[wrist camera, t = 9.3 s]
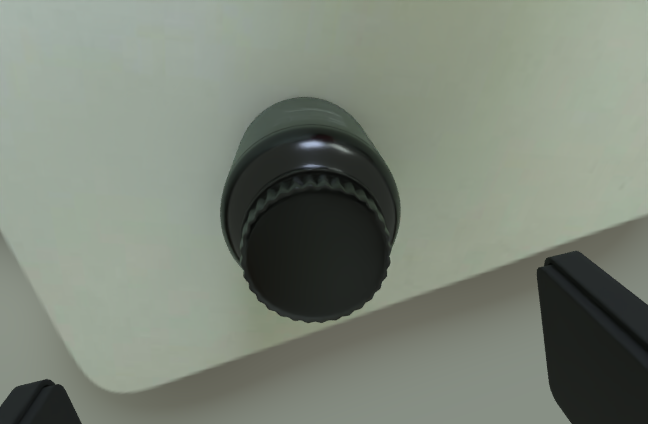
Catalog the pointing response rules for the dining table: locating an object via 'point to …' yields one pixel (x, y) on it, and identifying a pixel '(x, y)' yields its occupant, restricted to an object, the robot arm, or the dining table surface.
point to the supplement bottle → (310, 211)
